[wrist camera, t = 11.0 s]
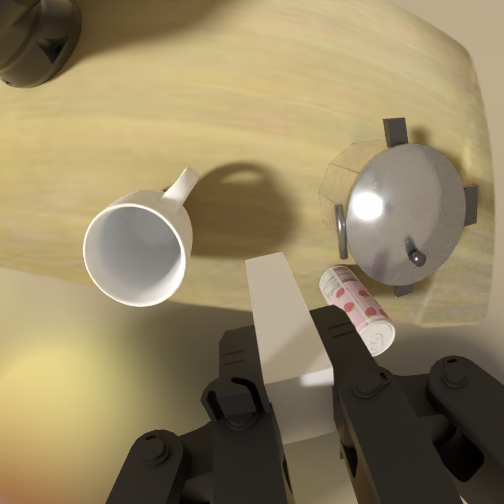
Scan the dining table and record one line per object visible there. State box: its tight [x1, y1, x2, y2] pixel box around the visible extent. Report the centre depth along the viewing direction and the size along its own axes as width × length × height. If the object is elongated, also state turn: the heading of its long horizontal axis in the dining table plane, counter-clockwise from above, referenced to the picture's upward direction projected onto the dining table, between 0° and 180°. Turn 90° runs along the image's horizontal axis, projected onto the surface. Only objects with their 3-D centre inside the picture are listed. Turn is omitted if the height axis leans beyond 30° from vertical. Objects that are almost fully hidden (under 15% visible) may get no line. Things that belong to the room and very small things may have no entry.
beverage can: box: [319, 265, 395, 356], centre depth 39 cm, size 6×6×15 cm
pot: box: [319, 118, 413, 297], centre depth 36 cm, size 22×16×10 cm
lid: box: [334, 143, 477, 286], centre depth 30 cm, size 17×20×3 cm
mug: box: [83, 167, 199, 307], centre depth 33 cm, size 15×11×13 cm
